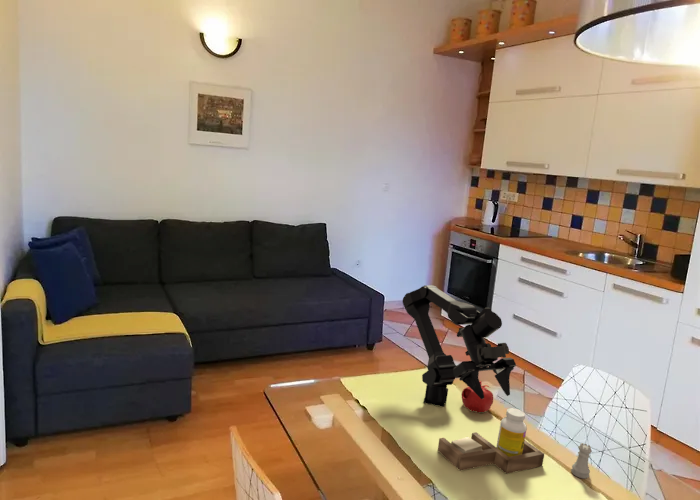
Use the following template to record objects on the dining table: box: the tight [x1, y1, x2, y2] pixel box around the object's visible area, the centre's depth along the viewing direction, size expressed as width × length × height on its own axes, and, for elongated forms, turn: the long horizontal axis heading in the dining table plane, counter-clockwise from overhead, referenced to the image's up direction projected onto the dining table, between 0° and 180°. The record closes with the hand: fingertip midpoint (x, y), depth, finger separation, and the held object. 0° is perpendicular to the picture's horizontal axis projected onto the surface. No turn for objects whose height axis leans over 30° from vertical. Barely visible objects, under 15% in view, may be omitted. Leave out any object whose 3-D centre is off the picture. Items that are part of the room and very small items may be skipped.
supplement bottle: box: [495, 407, 528, 457], centre depth 138 cm, size 7×7×13 cm
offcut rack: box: [437, 432, 545, 475], centre depth 137 cm, size 14×24×4 cm, turn 116°
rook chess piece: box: [570, 442, 593, 480], centre depth 134 cm, size 4×4×8 cm
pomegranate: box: [461, 380, 494, 413], centre depth 166 cm, size 10×10×9 cm
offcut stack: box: [450, 436, 482, 454], centre depth 137 cm, size 6×7×4 cm
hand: (495, 396), depth 144 cm, fingers open, 9 cm apart
